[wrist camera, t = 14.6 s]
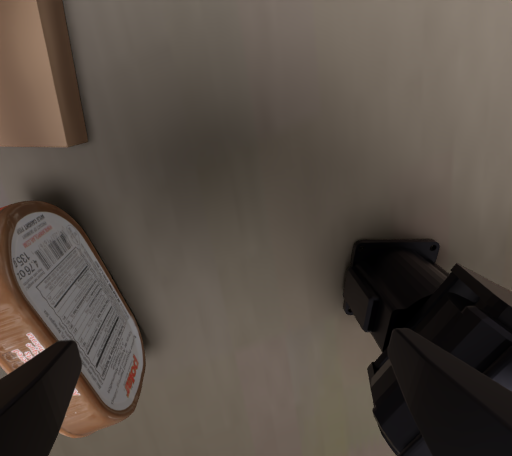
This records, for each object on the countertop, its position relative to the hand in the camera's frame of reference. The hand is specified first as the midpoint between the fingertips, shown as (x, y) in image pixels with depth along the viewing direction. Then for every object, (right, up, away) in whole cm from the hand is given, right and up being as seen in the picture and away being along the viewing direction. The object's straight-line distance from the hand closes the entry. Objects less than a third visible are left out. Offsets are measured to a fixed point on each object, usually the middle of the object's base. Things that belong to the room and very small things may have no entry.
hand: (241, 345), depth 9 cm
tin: (-11, 0, +14) cm, 18 cm away
